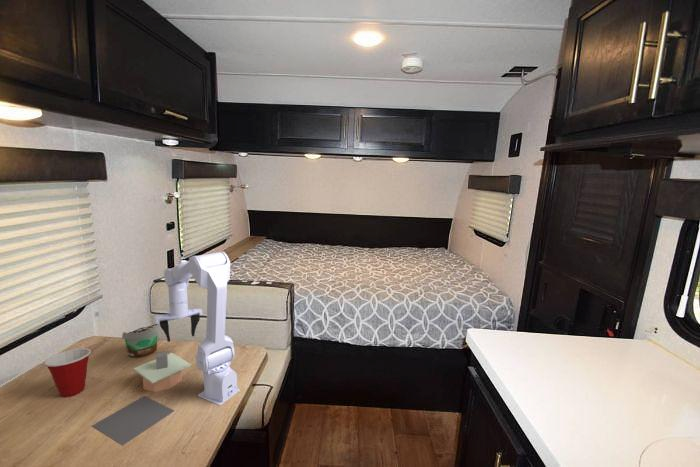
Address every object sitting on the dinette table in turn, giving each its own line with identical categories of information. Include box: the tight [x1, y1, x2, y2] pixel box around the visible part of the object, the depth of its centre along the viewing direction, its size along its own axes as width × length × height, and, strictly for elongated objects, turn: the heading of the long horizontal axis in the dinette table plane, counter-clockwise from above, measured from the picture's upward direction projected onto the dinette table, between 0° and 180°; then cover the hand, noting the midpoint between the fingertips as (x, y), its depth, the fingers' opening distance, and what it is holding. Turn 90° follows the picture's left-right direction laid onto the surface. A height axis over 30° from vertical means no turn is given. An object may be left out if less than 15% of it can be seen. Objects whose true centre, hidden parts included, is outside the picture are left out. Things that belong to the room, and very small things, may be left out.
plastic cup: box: [43, 347, 92, 398], centre depth 100 cm, size 11×11×12 cm
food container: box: [121, 323, 160, 359], centre depth 123 cm, size 12×6×10 cm, turn 143°
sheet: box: [133, 351, 192, 383], centre depth 106 cm, size 12×12×5 cm
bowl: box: [142, 370, 183, 393], centre depth 106 cm, size 11×11×5 cm
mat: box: [91, 395, 175, 446], centre depth 90 cm, size 14×14×1 cm
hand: (181, 337), depth 116 cm, fingers open, 7 cm apart
